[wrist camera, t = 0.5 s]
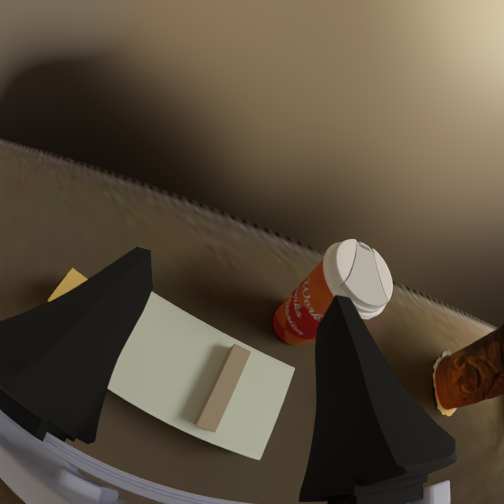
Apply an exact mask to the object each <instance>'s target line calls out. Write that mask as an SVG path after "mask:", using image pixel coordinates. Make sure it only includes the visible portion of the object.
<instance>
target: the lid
mask: <svg viewBox="0 0 504 504" xmlns="http://www.w3.org/2000/svg"><path fill="white" fill-rule="evenodd" d="M294 370H295V368H294V367H291V366H289V365H287V364H285V363H283V362H281V361H278V360H276V359H274V358H272V357H270V356H268V355H266V354H264V353H262V352H260V351H258V350H256V349H254V348H252V347H250V346H248V345H246V344H244V343H242V342H240V341H238V340H236V339H234V338H232V337H230V336H228V335H226V334H225V333H223V332H221V331H219V330H217V329H215V328H213V327H212V326H210V325H208V324H206V323H204V322H203V321H201V320H199V319H197V318H196V317H194V316H192V315H190V314H189V313H187V312H185V311H183V310H182V309H180V308H178V307H177V306H175V305H173V304H172V303H170V302H168V301H167V300H165V299H163V298H162V297H160V296H158V295H157V294H155V293H154V292H151V294H150V297H149V299H148V302H147V304H146V307H145V309H144V311H143V313H142V315H141V317H140V318H139V320H138V322H137V324H136V326H135V327H134V329H133V331H132V333H131V335H130V337H129V338H128V340H127V342H126V344H125V346H124V348H123V350H122V352H121V354H120V356H119V358H118V360H117V363H116V365H115V368H114V371H113V374H112V376H111V379H110V382H109V385H108V389H109V390H111V391H112V392H114V393H115V394H117V395H119V396H120V397H122V398H123V399H125V400H127V401H128V402H130V403H132V404H133V405H135V406H137V407H138V408H140V409H142V410H144V411H145V412H147V413H149V414H151V415H153V416H154V417H156V418H158V419H160V420H162V421H164V422H166V423H168V424H170V425H172V426H174V427H176V428H178V429H180V430H182V431H184V432H187V433H189V434H191V435H193V436H195V437H198V438H200V439H202V440H205V441H207V442H210V443H212V444H215V445H217V446H220V447H222V448H225V449H228V450H230V451H233V452H236V453H239V454H242V455H245V456H248V457H251V458H254V459H257V460H260V458H261V456H262V454H263V451H264V449H265V447H266V444H267V442H268V439H269V437H270V435H271V432H272V430H273V427H274V424H275V422H276V419H277V417H278V414H279V412H280V409H281V406H282V404H283V401H284V398H285V395H286V393H287V390H288V387H289V384H290V381H291V378H292V376H293V373H294Z"/></svg>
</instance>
